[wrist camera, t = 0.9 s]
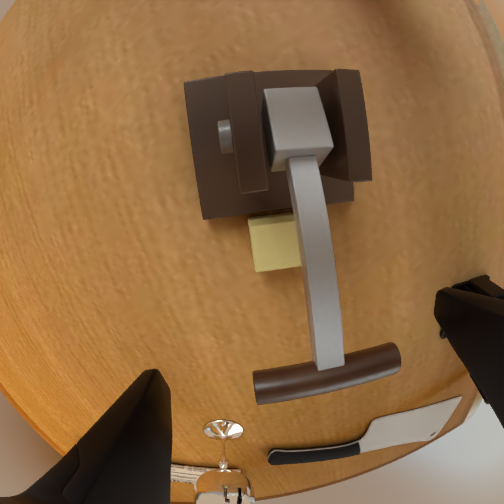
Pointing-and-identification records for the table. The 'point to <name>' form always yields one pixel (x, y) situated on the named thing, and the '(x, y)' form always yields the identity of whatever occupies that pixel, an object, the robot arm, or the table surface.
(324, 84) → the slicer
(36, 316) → the table surface
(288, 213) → the butter
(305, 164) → the lever handle
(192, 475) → the newspaper
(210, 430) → the wineglass
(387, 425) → the kitchen cleaver
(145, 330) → the table surface
